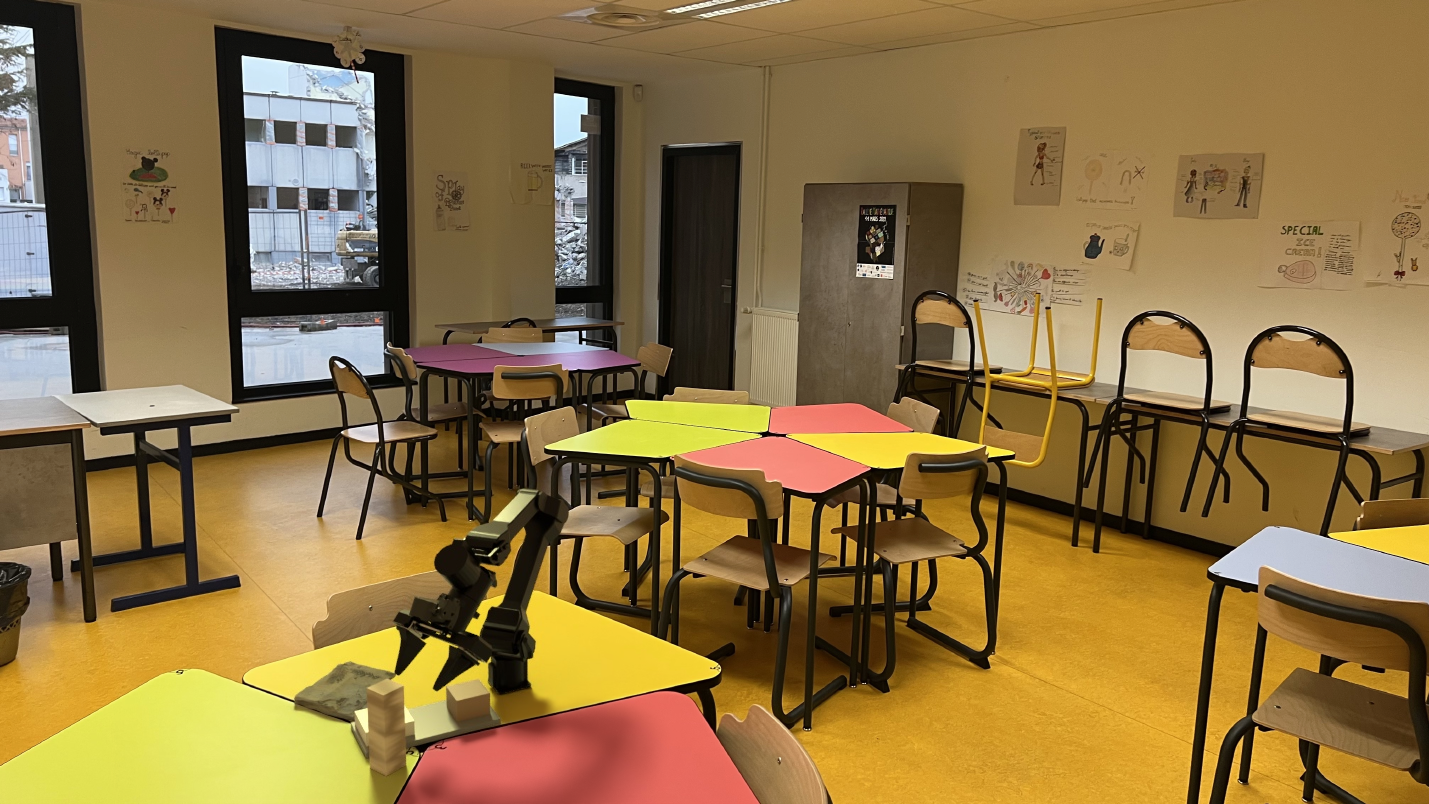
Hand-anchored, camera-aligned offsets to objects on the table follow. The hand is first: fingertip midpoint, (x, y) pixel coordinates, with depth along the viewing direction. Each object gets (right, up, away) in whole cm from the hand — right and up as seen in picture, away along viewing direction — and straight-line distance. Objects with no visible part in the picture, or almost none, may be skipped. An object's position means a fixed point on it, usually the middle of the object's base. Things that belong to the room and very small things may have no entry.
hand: (415, 682), depth 164 cm
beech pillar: (-4, -13, -2) cm, 14 cm away
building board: (-1, -11, +10) cm, 15 cm away
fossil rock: (-18, -9, +21) cm, 29 cm away
